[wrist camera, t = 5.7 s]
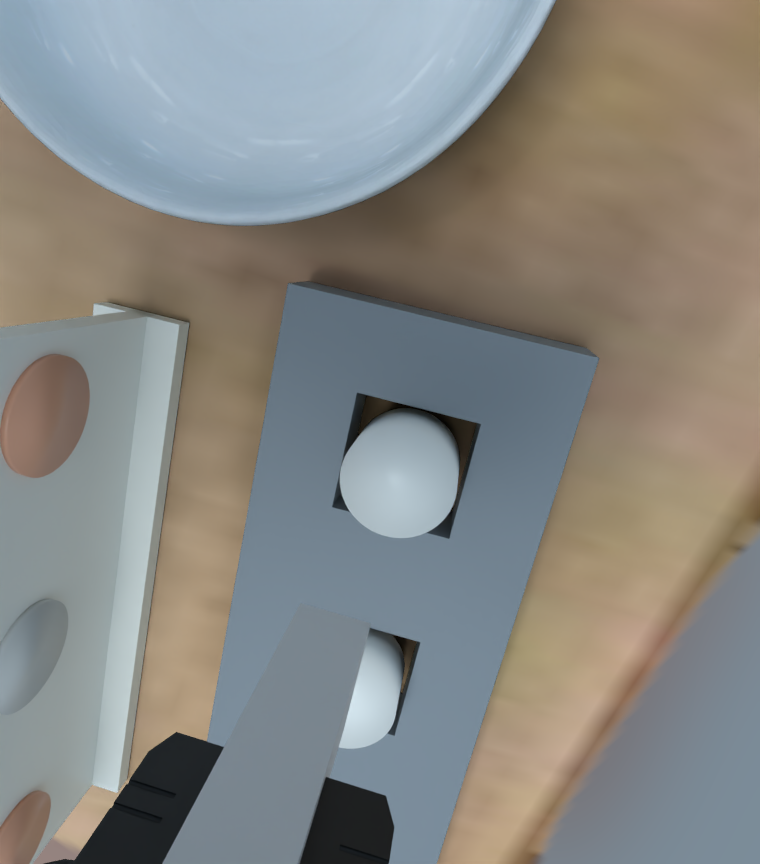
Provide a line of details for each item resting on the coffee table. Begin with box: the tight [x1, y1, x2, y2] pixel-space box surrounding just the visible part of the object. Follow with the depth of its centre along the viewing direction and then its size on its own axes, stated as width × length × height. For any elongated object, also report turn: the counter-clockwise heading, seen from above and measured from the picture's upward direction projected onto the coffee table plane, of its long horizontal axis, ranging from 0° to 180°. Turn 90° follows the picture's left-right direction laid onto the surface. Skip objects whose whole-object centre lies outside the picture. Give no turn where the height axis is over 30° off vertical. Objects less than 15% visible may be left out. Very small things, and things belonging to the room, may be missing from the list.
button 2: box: [340, 408, 460, 538], centre depth 25 cm, size 4×4×3 cm
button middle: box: [339, 628, 405, 749], centre depth 28 cm, size 4×4×3 cm
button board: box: [207, 281, 599, 864], centre depth 30 cm, size 32×12×3 cm, turn 167°
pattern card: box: [0, 302, 189, 864], centre depth 26 cm, size 26×4×13 cm, turn 167°
